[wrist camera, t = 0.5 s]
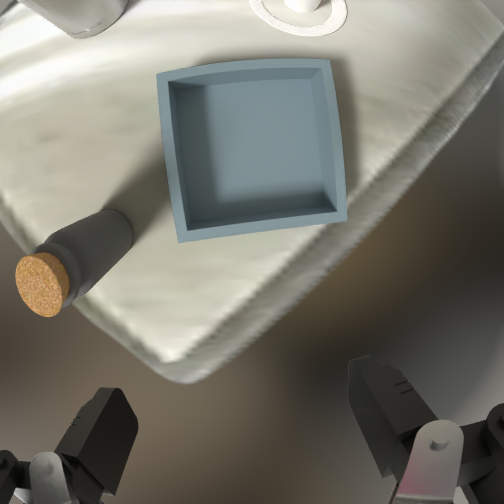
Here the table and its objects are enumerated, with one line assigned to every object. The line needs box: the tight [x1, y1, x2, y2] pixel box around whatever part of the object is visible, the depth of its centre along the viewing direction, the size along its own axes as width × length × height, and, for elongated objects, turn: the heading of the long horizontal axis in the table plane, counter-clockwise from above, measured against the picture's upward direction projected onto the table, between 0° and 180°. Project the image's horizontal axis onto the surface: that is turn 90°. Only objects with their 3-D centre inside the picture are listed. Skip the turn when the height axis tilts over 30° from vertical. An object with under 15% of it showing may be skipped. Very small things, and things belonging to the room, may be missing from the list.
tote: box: [156, 58, 347, 243], centre depth 25 cm, size 16×16×5 cm
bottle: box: [16, 209, 133, 317], centre depth 22 cm, size 6×6×15 cm
